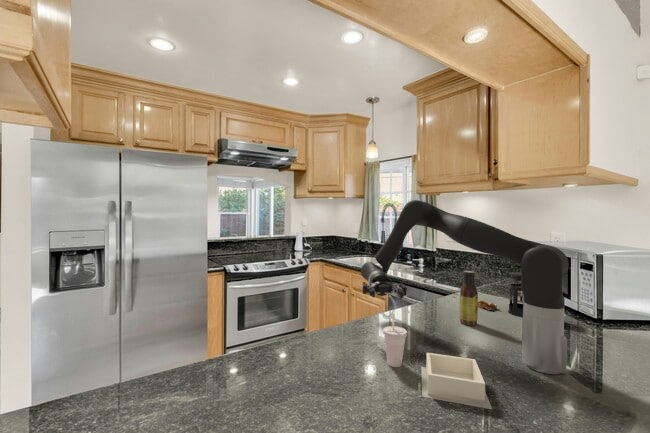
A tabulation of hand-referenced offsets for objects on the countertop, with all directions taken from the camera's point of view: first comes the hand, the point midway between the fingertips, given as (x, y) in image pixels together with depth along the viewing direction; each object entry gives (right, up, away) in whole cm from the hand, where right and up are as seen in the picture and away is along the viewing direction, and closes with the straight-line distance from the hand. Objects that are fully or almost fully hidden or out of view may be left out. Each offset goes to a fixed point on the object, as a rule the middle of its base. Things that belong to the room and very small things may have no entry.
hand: (387, 294), depth 94 cm
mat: (+11, -17, -21) cm, 29 cm away
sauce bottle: (+36, -17, +23) cm, 46 cm away
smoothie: (0, -17, -11) cm, 20 cm away
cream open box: (+11, -16, -21) cm, 29 cm away
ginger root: (+53, -18, +45) cm, 72 cm away
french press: (+64, -18, +35) cm, 76 cm away
